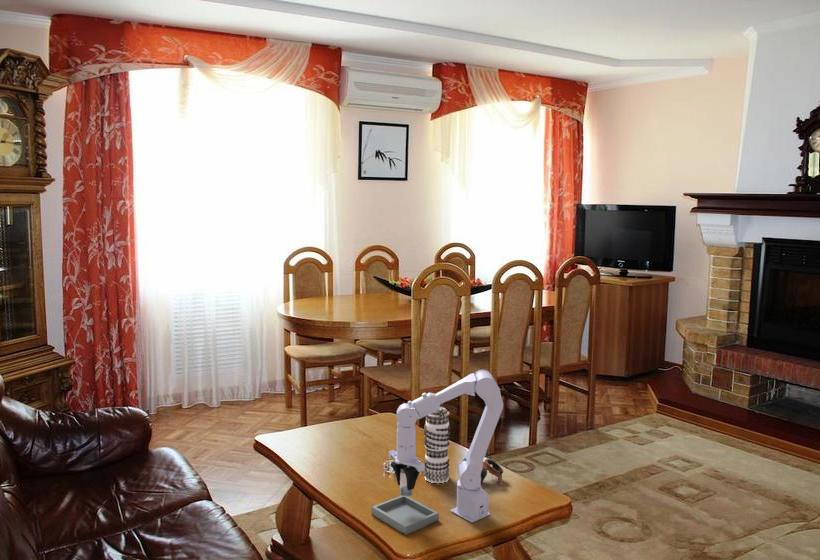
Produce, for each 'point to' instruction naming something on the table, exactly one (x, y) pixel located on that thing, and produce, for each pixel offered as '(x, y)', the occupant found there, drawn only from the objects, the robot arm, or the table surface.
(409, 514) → the tray
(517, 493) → the table surface
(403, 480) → the shaker
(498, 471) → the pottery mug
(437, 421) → the decorative candle
